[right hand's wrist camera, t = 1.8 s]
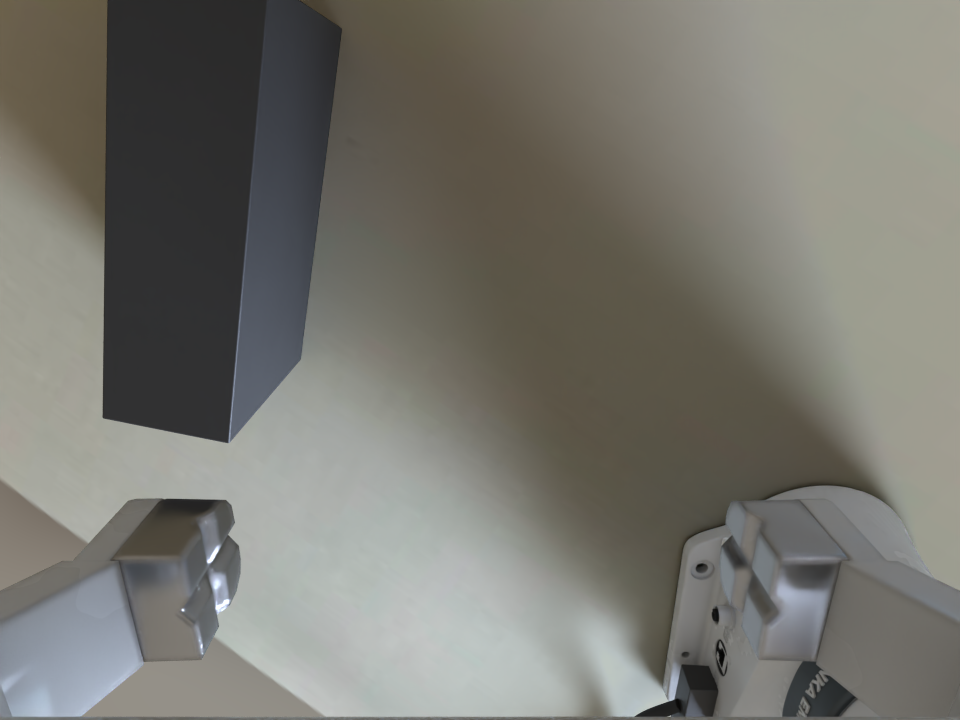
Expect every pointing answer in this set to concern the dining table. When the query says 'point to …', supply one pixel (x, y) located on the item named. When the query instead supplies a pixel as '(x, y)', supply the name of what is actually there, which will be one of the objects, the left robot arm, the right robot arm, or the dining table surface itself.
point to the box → (210, 204)
